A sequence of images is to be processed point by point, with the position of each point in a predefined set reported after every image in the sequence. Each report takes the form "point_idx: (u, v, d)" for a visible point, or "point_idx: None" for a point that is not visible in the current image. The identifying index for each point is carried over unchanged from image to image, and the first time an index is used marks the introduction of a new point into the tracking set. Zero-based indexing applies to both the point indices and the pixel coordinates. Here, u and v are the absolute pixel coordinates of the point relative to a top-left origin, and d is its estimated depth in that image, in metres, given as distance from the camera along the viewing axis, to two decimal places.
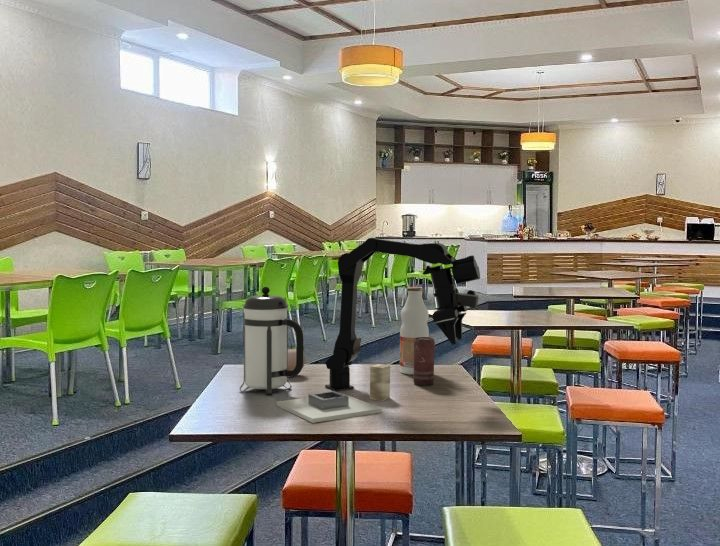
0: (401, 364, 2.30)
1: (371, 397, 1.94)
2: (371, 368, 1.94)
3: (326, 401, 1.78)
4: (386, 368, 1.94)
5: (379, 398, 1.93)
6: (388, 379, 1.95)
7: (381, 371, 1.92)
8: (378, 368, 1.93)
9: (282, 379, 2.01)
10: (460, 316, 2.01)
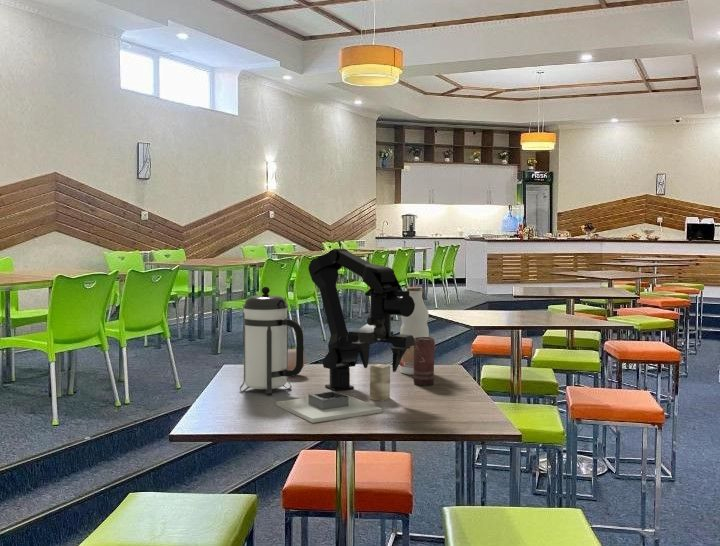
0: (401, 364, 2.30)
1: (371, 397, 1.94)
2: (371, 368, 1.94)
3: (326, 401, 1.78)
4: (386, 368, 1.94)
5: (379, 398, 1.93)
6: (388, 379, 1.95)
7: (381, 371, 1.92)
8: (378, 368, 1.93)
9: (282, 379, 2.01)
10: None
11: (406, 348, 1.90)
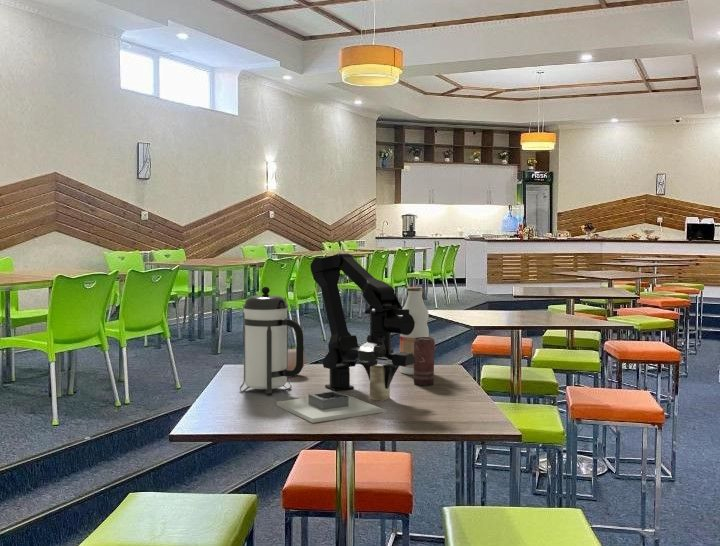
0: None
1: (371, 397, 1.94)
2: (371, 368, 1.94)
3: (326, 401, 1.78)
4: None
5: (379, 398, 1.93)
6: None
7: (381, 371, 1.92)
8: (378, 368, 1.93)
9: (282, 379, 2.01)
10: None
11: (398, 365, 1.92)
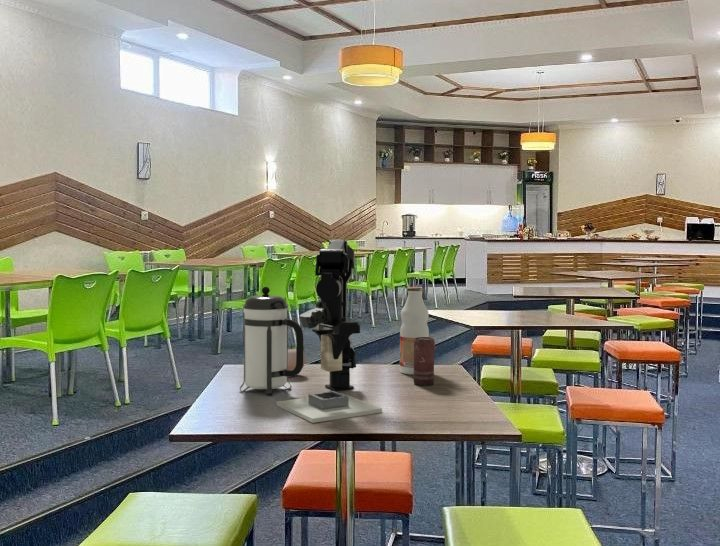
0: (401, 364, 2.30)
1: (321, 367, 1.83)
2: (321, 336, 1.83)
3: (326, 401, 1.78)
4: None
5: (326, 369, 1.81)
6: None
7: (328, 340, 1.80)
8: (326, 337, 1.81)
9: (282, 379, 2.01)
10: None
11: (344, 334, 1.78)
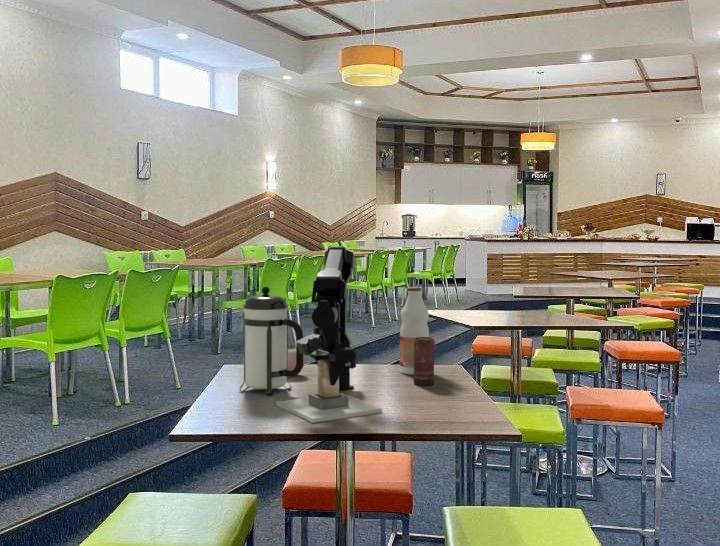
0: (401, 364, 2.30)
1: (318, 393, 1.83)
2: (318, 362, 1.83)
3: (326, 401, 1.78)
4: None
5: (323, 395, 1.81)
6: None
7: (324, 366, 1.80)
8: (322, 363, 1.81)
9: (282, 379, 2.01)
10: None
11: None
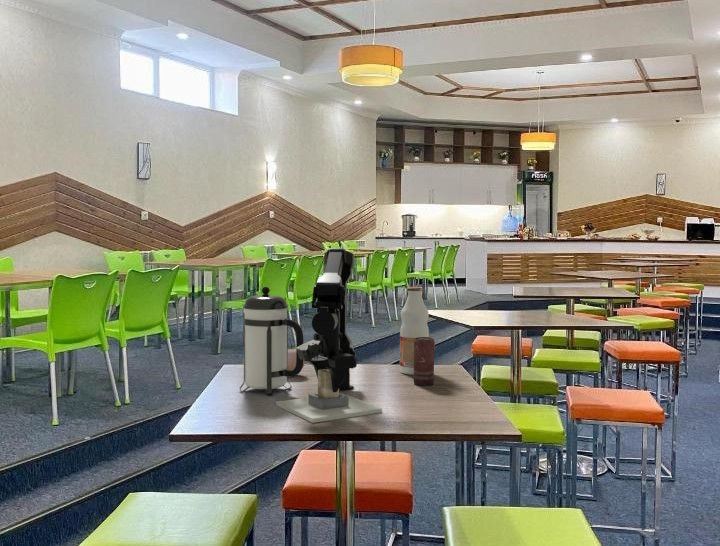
0: (401, 364, 2.30)
1: None
2: (318, 372, 1.83)
3: (326, 401, 1.78)
4: None
5: None
6: None
7: (324, 376, 1.80)
8: (322, 373, 1.81)
9: (282, 379, 2.01)
10: None
11: (343, 368, 1.77)
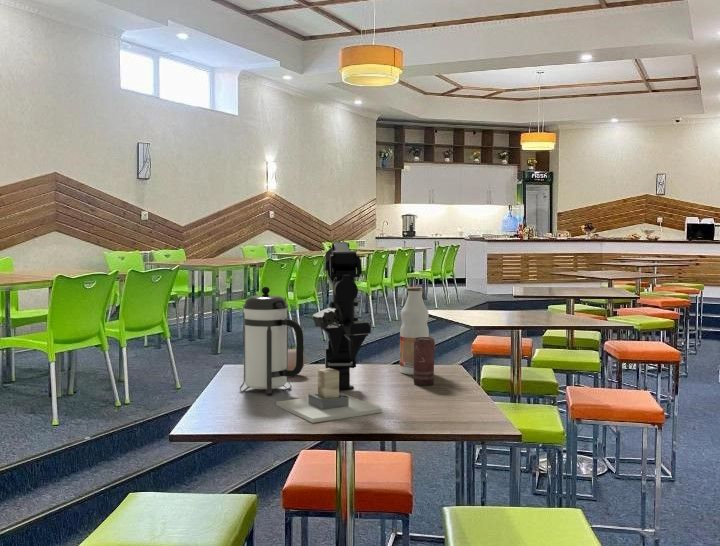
0: (401, 364, 2.30)
1: None
2: (318, 372, 1.83)
3: (326, 401, 1.78)
4: (332, 373, 1.81)
5: None
6: (336, 385, 1.82)
7: (324, 376, 1.80)
8: (322, 373, 1.81)
9: (282, 379, 2.01)
10: None
11: (360, 335, 1.81)
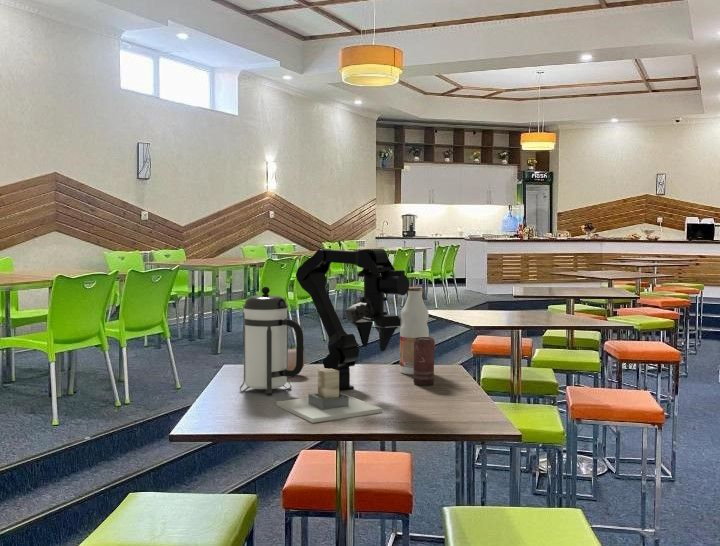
0: (401, 364, 2.30)
1: None
2: (318, 372, 1.83)
3: (326, 401, 1.78)
4: (332, 373, 1.81)
5: None
6: (336, 385, 1.82)
7: (324, 376, 1.80)
8: (322, 373, 1.81)
9: (282, 379, 2.01)
10: None
11: (391, 328, 1.92)
